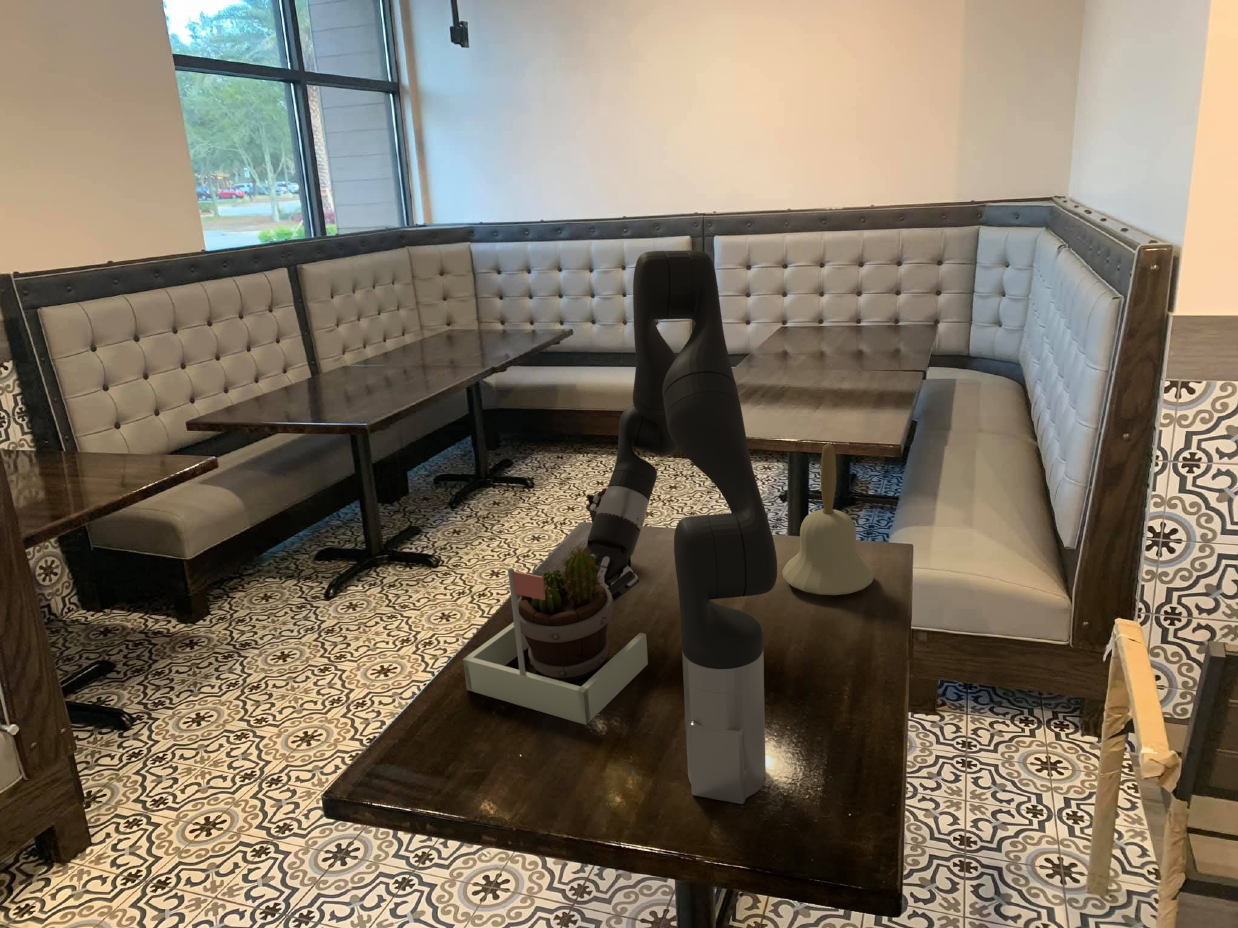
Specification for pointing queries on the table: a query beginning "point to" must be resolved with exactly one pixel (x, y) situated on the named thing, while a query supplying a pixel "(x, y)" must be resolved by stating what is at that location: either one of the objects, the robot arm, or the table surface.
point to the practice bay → (538, 691)
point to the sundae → (595, 503)
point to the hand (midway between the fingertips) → (583, 624)
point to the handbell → (828, 545)
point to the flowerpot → (568, 620)
